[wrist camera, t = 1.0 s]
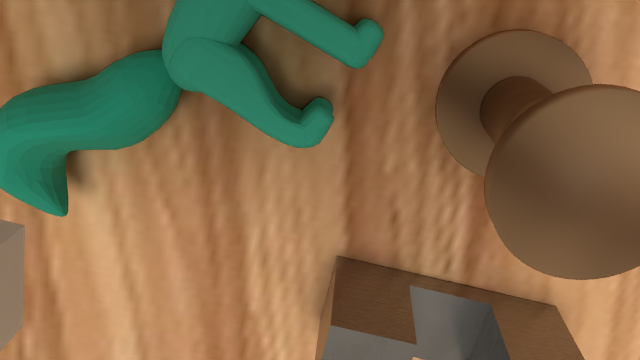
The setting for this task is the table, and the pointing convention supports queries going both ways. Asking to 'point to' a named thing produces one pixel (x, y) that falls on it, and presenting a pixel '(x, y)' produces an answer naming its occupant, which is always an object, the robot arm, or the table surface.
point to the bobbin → (547, 152)
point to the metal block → (432, 320)
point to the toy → (171, 91)
